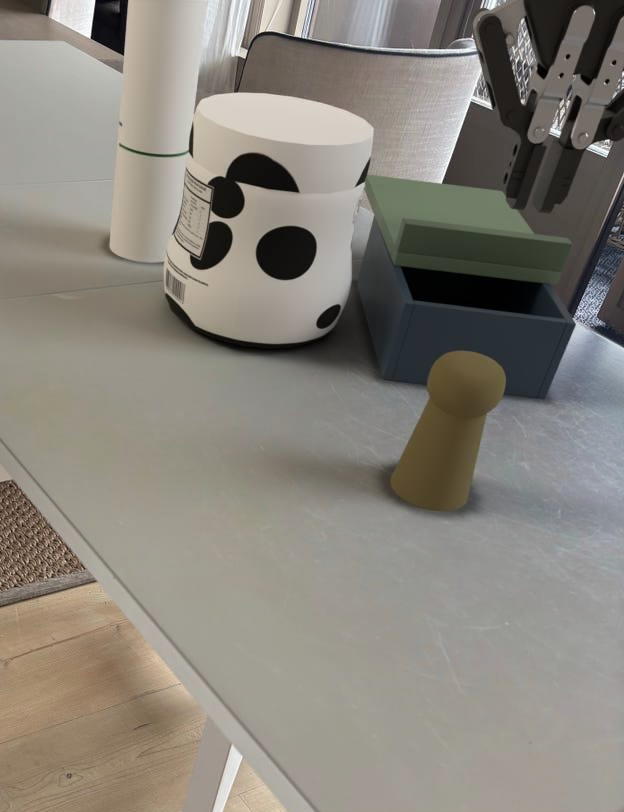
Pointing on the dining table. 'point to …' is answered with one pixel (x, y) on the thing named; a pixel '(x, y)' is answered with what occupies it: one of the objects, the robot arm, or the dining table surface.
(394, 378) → the bin
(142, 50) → the cylindrical container
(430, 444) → the brown pawn
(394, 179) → the bin lid
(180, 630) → the dining table surface
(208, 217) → the milk container
